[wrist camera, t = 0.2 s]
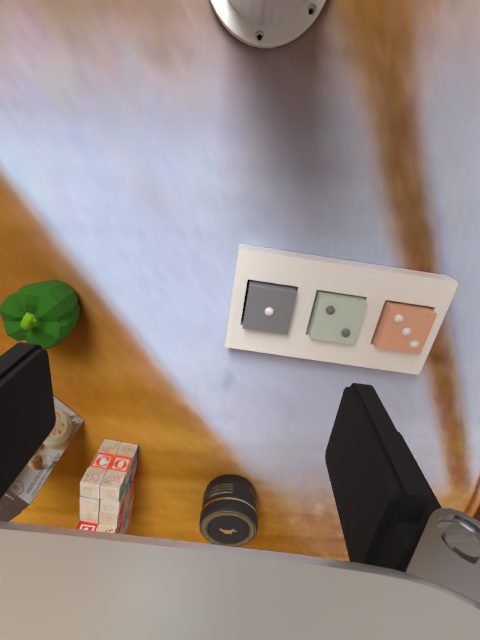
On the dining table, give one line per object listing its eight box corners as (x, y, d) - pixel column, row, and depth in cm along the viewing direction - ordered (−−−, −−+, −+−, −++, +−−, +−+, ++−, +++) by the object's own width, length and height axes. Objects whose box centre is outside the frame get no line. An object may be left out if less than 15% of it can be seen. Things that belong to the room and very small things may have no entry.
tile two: (317, 289, 45) (321, 297, 43) (361, 295, 46) (368, 304, 43) (306, 329, 48) (310, 339, 45) (349, 335, 48) (354, 345, 45)
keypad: (239, 243, 45) (238, 248, 42) (447, 275, 46) (459, 282, 43) (225, 337, 51) (224, 347, 48) (410, 363, 52) (419, 375, 49)
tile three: (383, 299, 46) (391, 307, 43) (427, 305, 46) (438, 314, 43) (370, 338, 48) (377, 349, 46) (411, 344, 48) (421, 355, 46)
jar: (264, 502, 66) (265, 543, 59) (215, 513, 67) (211, 553, 60) (247, 466, 62) (246, 504, 55) (196, 478, 63) (189, 516, 57)
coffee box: (19, 405, 58) (-60, 487, 43) (42, 385, 56) (-33, 464, 41) (63, 438, 60) (3, 526, 46) (86, 420, 59) (31, 506, 44)
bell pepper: (59, 335, 52) (18, 372, 43) (20, 290, 49) (-32, 319, 40) (103, 311, 50) (69, 344, 41) (65, 262, 47) (20, 286, 38)
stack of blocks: (103, 437, 60) (69, 499, 49) (139, 443, 61) (113, 507, 49) (100, 516, 69) (70, 585, 58) (131, 522, 69) (107, 591, 58)
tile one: (249, 279, 45) (249, 286, 43) (294, 285, 45) (297, 293, 43) (243, 320, 48) (242, 329, 45) (285, 326, 48) (287, 335, 45)
